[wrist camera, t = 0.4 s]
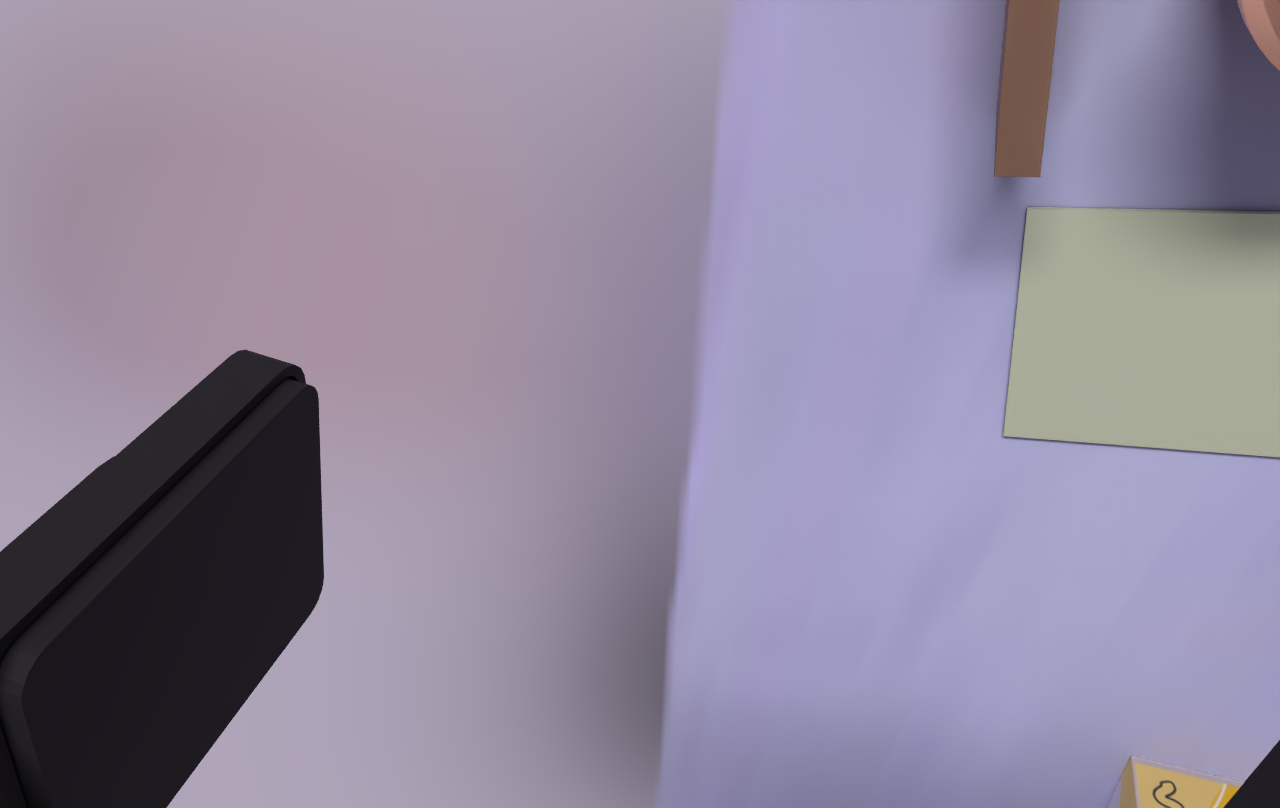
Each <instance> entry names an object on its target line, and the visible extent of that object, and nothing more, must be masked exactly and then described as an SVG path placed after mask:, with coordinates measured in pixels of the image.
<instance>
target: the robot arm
mask: <svg viewBox="0 0 1280 808" xmlns="http://www.w3.org/2000/svg"><path fill="white" fill-rule="evenodd" d="M323 579H324V565H323V533H322V499H321V468H320V435H319V402H318V393H317V391H316V389H315V387H313V386H311V385H307V384H306V382H305V375H304V373H303V371H302V369H301V368H300V367H298V366H296V365H293V364H290V363H287V362H283V361H280V360H277V359H274V358H270V357H267V356H264V355H261V354H258V353H254V352H251V351H248V350H241V351H237V352H236V353H235V354H233V355H231V356H230V357H229V358H227V359H226V360H225V361H224V362H223V363H222V364H221V365H219V366H218V367H217V368H216V369H215V370H214V371H213V372H212V373H210V374H209V375H208V376H207V377H206V378H205V379H203V380H202V381H201V382H200V383H199V384H198V385H197V386H195V387H194V388H193V389H192V390H191V391H190V392H188V393H187V394H186V395H185V396H184V397H183V398H182V399H181V400H179V401H178V402H177V403H176V404H175V405H174V406H172V407H171V408H170V409H169V410H168V411H167V412H166V413H164V414H163V415H162V416H161V417H160V418H159V419H158V420H156V421H155V422H154V423H153V424H152V425H151V426H149V427H148V428H147V429H146V430H145V431H144V432H143V433H141V434H140V435H139V436H138V437H137V438H136V439H135V440H133V441H132V442H131V443H130V444H129V445H128V446H127V447H126V448H124V449H123V450H122V451H121V452H120V453H118V454H117V455H116V456H115V457H112V458H111V459H109V460H108V461H106V462H105V463H103V464H102V465H101V466H99V467H98V468H97V469H95V470H94V471H93V472H92V473H91V474H90V475H88V476H87V477H86V478H85V479H84V480H83V481H81V482H80V483H79V484H78V485H77V486H76V487H75V488H73V489H72V490H71V491H70V492H69V493H68V494H66V495H65V496H64V497H63V498H62V499H61V500H60V501H58V502H57V503H56V504H55V505H54V506H53V507H51V508H50V509H49V510H48V511H47V512H46V513H45V514H44V515H42V516H41V517H40V518H39V519H38V520H37V521H35V522H34V523H33V524H32V525H31V526H30V527H28V529H26V530H25V531H24V532H23V533H22V534H21V535H19V536H18V537H17V538H16V539H15V540H13V541H12V542H11V543H10V544H9V545H8V546H7V547H5V548H4V549H3V550H2V551H1V552H0V808H166V807H167V806H168V805H169V803H170V802H171V801H172V799H173V798H174V796H175V795H176V794H177V793H178V791H179V790H180V789H181V787H182V786H183V785H184V783H185V782H186V780H187V779H188V778H189V776H190V775H191V774H192V772H193V771H194V770H195V768H196V767H197V766H198V764H199V763H200V762H201V760H202V759H203V758H204V756H205V755H206V754H207V752H208V751H209V750H210V748H211V747H212V746H213V744H214V743H215V742H216V740H217V739H218V738H219V736H220V735H221V734H222V732H223V731H224V729H225V728H226V727H227V725H228V724H229V723H230V721H231V720H232V719H233V717H234V716H235V715H236V713H237V712H238V711H239V709H240V708H241V707H242V705H243V704H244V703H245V701H246V700H247V699H248V697H249V696H250V694H251V693H252V692H253V691H254V689H255V688H256V687H257V685H258V684H259V682H260V681H261V680H262V678H263V677H264V676H265V674H266V673H267V672H268V670H269V669H270V668H271V666H272V665H273V663H274V662H275V661H276V660H277V658H278V657H279V656H280V654H281V653H282V651H283V650H284V649H285V648H286V646H287V645H288V644H289V642H290V641H291V639H292V638H293V637H294V636H295V634H296V633H297V631H298V630H299V629H300V627H301V626H302V625H303V623H304V622H305V621H306V619H307V618H308V617H309V615H310V614H311V612H312V611H313V609H314V608H315V606H316V604H317V601H318V599H319V596H320V593H321V591H322V586H323ZM1223 808H1280V740H1279V742H1278V743H1277V744H1276V745H1275V746H1274V748H1273V749H1272V750H1271V751H1270V752H1269V754H1268V755H1267V756H1266V757H1265V758H1264V760H1263V761H1262V762H1261V763H1260V764H1259V766H1258V767H1257V768H1256V769H1255V770H1254V771H1253V773H1252V774H1251V775H1250V776H1249V777H1248V779H1247V780H1246V781H1245V782H1244V783H1243V785H1242V786H1241V787H1240V788H1239V789H1238V791H1237V792H1236V793H1235V794H1234V795H1233V797H1232V798H1231V799H1230V800H1229V801H1228V803H1227V804H1226V805H1225V806H1224V807H1223Z"/></svg>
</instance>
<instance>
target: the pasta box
mask: <svg viewBox="0 0 1280 808" xmlns="http://www.w3.org/2000/svg"><path fill="white" fill-rule="evenodd" d="M1243 783H1244V782H1241V781H1236V780H1232V779H1228V778H1224V777H1220V776H1216V775H1211V774H1207V773H1203V772H1199V771H1195V770H1190V769H1186V768H1182V767H1178V766H1174V765H1170V764H1165V763H1161V762H1157V761H1153V760H1149V759H1144V758H1140V757H1136V756H1132V755H1131V756H1130V759H1129V761H1128V763H1127V765H1126V767H1125V769H1124V771H1123V774H1122V776H1121V778H1120V780H1119V782H1118V784H1117V786H1116V789H1115V791H1114V793H1113V795H1112V797H1111V799H1110V801H1109V804H1108V806H1107V808H1223V807H1224V806H1225V805H1226V804H1227V803H1228V801H1229V800H1230V799H1231V798H1232V797H1233V795H1234V794H1235V793H1236V792H1237V791H1238V789H1239V788H1240V787H1241V786H1242V785H1243Z"/></svg>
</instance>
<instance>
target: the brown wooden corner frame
mask: <svg viewBox="0 0 1280 808" xmlns="http://www.w3.org/2000/svg"><path fill="white" fill-rule="evenodd" d="M1059 1H1060V0H1006V10H1005V21H1004V33H1003V45H1002V57H1001V69H1000V80H999V92H998V104H997V116H996V141H995V168H994V176H1007V177H1040V172H1041V163H1042V154H1043V145H1044V136H1045V127H1046V118H1047V109H1048V100H1049V91H1050V82H1051V73H1052V64H1053V55H1054V46H1055V37H1056V28H1057V19H1058V10H1059Z"/></svg>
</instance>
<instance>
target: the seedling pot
mask: <svg viewBox="0 0 1280 808" xmlns="http://www.w3.org/2000/svg"><path fill="white" fill-rule="evenodd" d="M1237 4H1238V6H1239V9H1240V12H1241V15H1242V18H1243V21H1244V23H1245V25H1246V27H1247V28H1248V30H1249V32H1250V34H1251V36H1252V38H1253V39H1254V41H1255V42H1256V44H1257V45H1258V47H1259V48H1260V49H1261V51H1262V52H1263V53H1264V55H1265V56H1266V57H1267V59H1268V60H1269V61H1270V62H1271V63H1272V64H1273V65H1274V66H1275V67H1276V68H1277V69H1278V70H1279V71H1280V0H1237Z"/></svg>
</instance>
